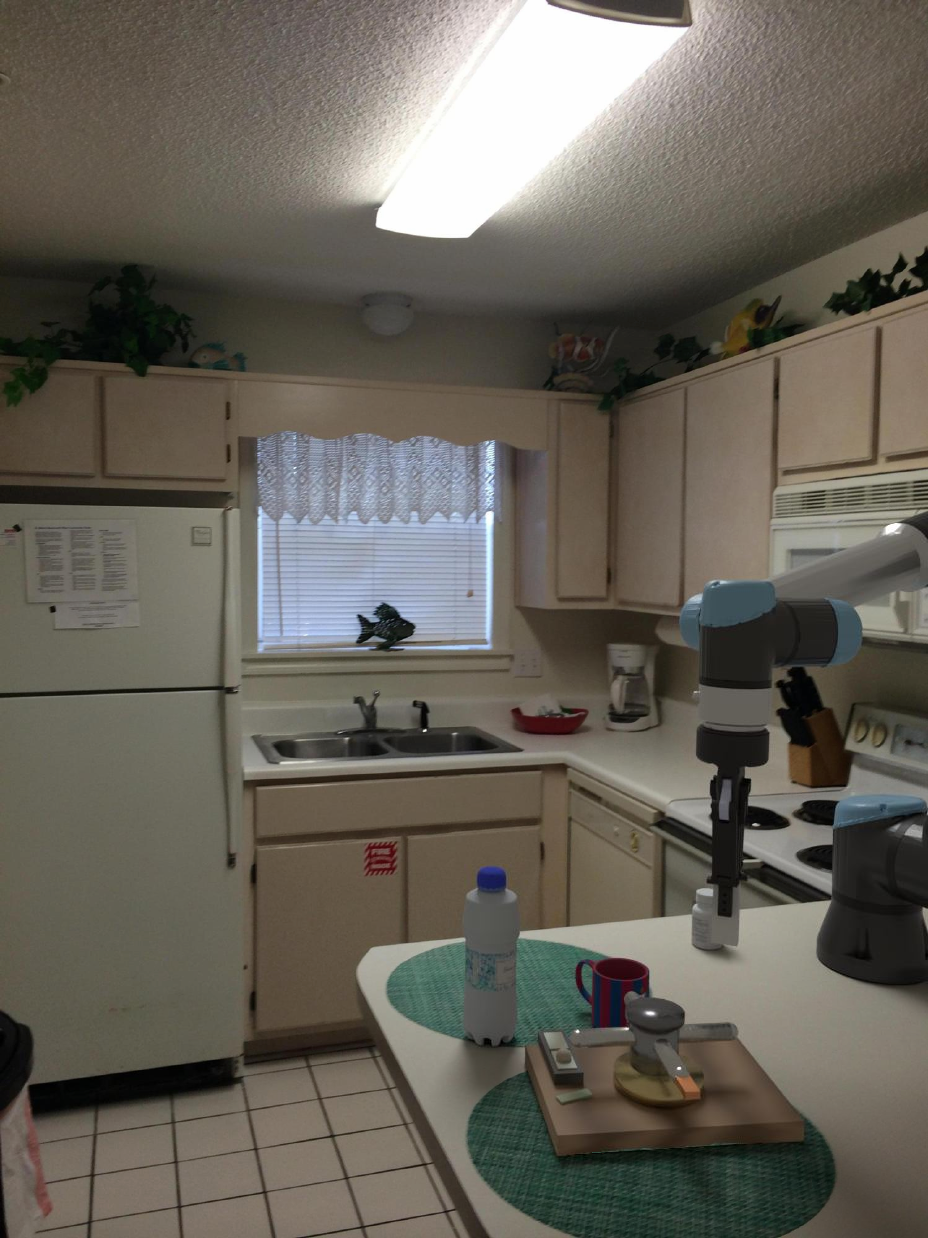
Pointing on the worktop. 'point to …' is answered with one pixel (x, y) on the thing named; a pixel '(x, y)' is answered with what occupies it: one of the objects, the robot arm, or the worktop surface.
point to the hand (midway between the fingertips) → (724, 942)
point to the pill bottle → (703, 920)
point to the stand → (608, 1120)
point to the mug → (612, 988)
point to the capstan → (655, 1051)
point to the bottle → (490, 958)
